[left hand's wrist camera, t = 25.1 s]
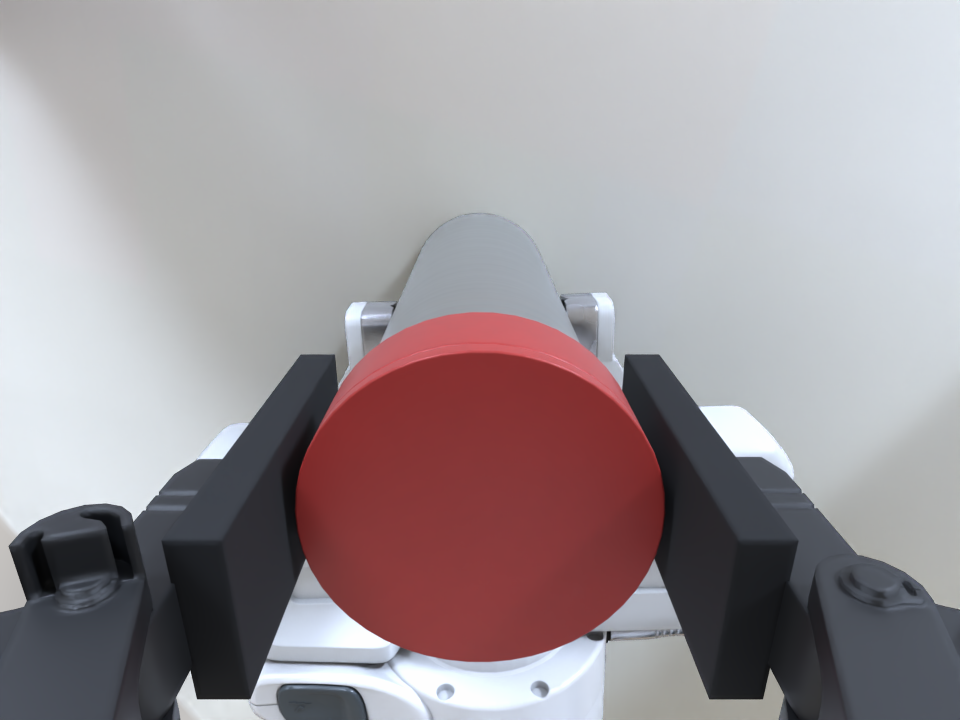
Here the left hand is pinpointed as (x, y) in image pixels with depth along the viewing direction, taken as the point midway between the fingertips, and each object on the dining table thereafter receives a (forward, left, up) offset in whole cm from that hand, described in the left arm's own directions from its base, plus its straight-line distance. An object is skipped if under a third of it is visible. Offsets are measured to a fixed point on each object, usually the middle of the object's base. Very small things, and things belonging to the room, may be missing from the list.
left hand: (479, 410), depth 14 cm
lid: (0, 0, +4) cm, 4 cm away
